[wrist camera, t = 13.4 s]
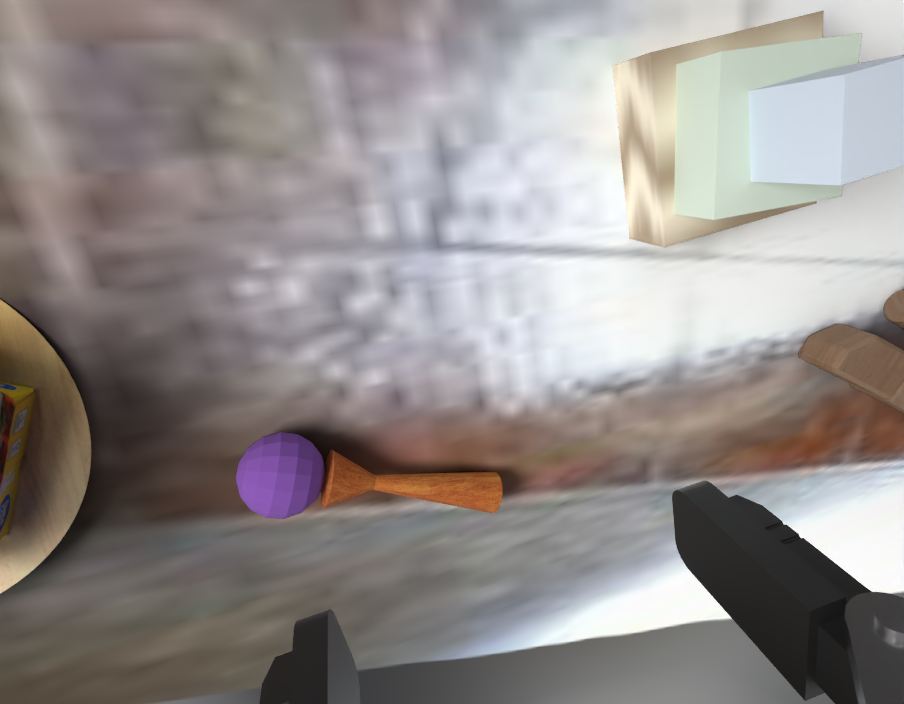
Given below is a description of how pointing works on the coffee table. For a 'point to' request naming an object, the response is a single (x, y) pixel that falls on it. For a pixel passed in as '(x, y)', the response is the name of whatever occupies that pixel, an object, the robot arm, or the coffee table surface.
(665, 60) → the tower base
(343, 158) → the coffee table surface
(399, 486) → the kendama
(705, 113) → the tower top
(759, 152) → the blue block
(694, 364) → the coffee table surface
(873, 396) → the wooden block set
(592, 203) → the coffee table surface
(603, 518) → the coffee table surface
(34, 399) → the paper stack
